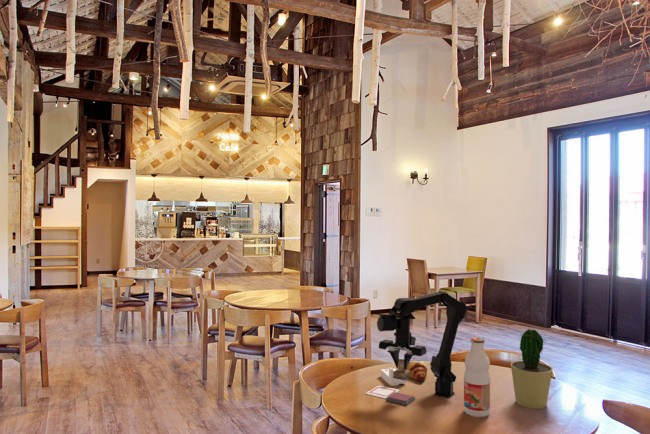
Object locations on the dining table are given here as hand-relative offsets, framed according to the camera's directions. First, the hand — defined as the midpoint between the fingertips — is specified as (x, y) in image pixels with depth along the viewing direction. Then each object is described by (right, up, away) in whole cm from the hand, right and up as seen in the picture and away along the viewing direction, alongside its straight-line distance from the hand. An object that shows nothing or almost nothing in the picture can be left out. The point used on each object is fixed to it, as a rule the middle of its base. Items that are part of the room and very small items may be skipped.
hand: (401, 368), depth 202 cm
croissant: (+11, -13, +31) cm, 35 cm away
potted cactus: (+51, -13, -3) cm, 53 cm away
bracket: (0, -13, +23) cm, 26 cm away
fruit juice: (+26, -13, -13) cm, 32 cm away
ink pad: (-1, -12, -1) cm, 12 cm away
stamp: (0, -4, 0) cm, 4 cm away
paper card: (-7, -12, +8) cm, 16 cm away
